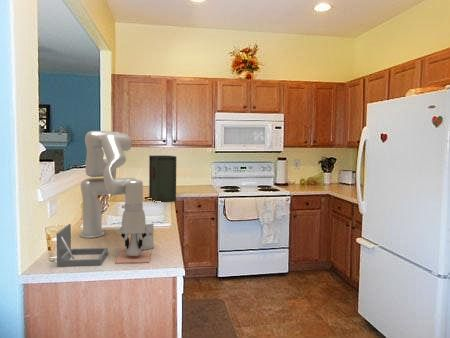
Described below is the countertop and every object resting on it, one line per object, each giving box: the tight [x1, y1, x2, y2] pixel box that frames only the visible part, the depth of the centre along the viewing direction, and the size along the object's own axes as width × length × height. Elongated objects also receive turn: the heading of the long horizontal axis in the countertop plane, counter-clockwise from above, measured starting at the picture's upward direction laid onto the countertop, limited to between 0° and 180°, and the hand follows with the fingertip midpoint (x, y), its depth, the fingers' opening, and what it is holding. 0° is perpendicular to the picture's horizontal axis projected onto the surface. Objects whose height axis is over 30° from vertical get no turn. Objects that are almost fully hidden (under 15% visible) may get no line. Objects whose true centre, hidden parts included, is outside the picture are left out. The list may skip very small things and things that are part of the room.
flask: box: [125, 234, 143, 256], centre depth 153 cm, size 7×7×10 cm
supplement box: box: [137, 220, 154, 251], centre depth 168 cm, size 7×7×13 cm
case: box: [56, 223, 109, 268], centre depth 150 cm, size 16×17×14 cm
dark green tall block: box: [148, 155, 177, 204], centre depth 304 cm, size 18×18×40 cm
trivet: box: [115, 250, 152, 265], centre depth 153 cm, size 14×14×1 cm
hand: (133, 247), depth 153 cm, fingers closed on flask, 4 cm apart
